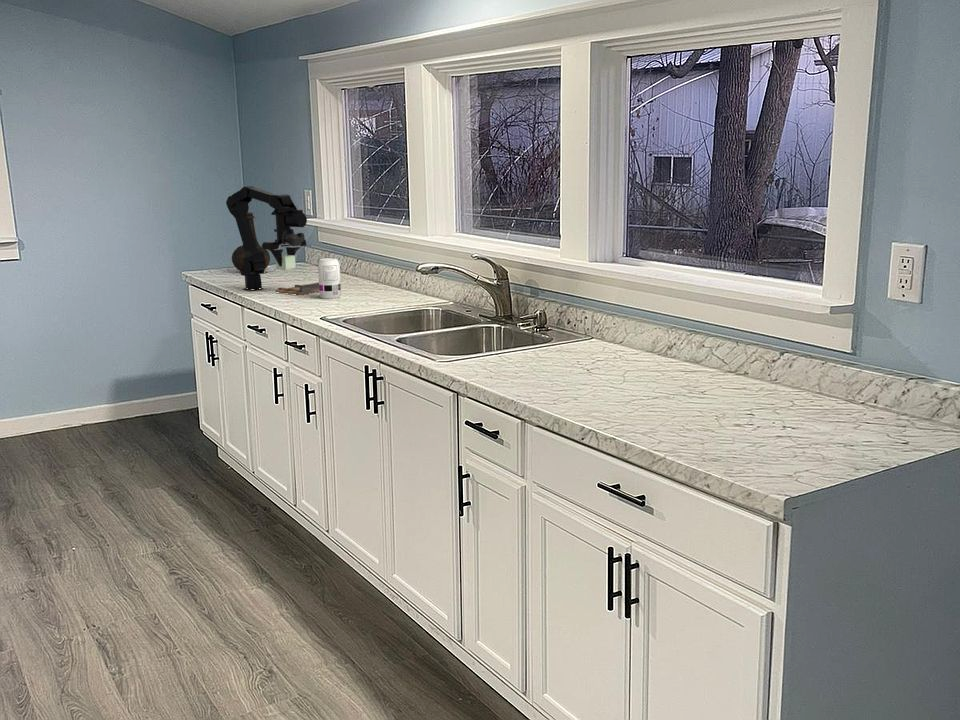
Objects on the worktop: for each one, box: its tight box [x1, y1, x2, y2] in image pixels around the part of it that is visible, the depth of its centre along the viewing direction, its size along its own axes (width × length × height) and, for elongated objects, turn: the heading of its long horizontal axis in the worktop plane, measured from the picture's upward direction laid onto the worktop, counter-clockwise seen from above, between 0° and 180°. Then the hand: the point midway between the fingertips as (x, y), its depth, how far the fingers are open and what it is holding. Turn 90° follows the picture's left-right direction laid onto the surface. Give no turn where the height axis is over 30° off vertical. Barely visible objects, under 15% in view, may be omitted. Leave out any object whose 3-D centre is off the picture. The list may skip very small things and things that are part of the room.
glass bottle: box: [231, 212, 271, 271], centre depth 448 cm, size 18×18×28 cm
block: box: [275, 254, 297, 270], centre depth 382 cm, size 6×5×5 cm
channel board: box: [275, 282, 320, 296], centre depth 384 cm, size 14×13×4 cm
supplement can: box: [317, 257, 342, 300], centre depth 368 cm, size 8×8×15 cm
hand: (285, 265), depth 382 cm, fingers closed on block, 5 cm apart
